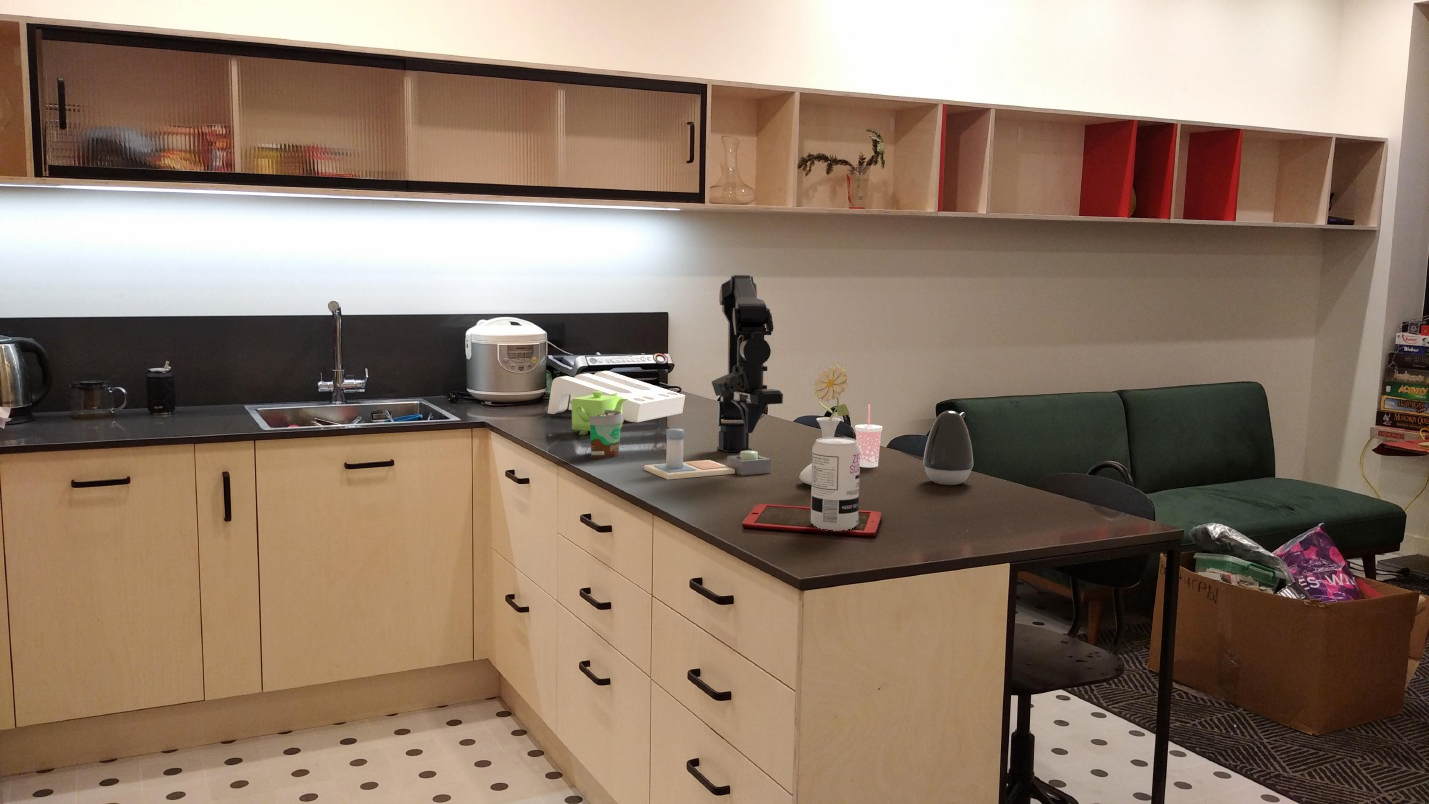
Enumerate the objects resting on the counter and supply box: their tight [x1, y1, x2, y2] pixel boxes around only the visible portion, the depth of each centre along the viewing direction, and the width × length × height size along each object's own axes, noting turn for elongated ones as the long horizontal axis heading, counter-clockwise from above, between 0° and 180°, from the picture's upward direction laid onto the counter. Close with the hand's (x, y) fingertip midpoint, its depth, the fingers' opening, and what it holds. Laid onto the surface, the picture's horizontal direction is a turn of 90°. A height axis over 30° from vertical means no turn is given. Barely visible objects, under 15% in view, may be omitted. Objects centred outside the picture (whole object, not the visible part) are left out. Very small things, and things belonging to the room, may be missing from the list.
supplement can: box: [810, 436, 861, 532], centre depth 187 cm, size 8×8×15 cm
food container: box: [589, 410, 625, 459], centre depth 254 cm, size 12×6×10 cm, turn 168°
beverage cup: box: [854, 403, 883, 468], centre depth 244 cm, size 6×6×14 cm
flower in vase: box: [798, 365, 851, 486], centre depth 220 cm, size 13×11×25 cm
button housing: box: [726, 454, 772, 476], centre depth 236 cm, size 7×7×3 cm
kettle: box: [568, 391, 628, 436], centre depth 287 cm, size 15×14×11 cm
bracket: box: [547, 370, 686, 423], centre depth 326 cm, size 24×12×32 cm
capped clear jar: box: [665, 427, 685, 469], centre depth 233 cm, size 4×4×8 cm
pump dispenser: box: [922, 410, 974, 486], centre depth 226 cm, size 10×10×15 cm
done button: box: [739, 450, 759, 460], centre depth 236 cm, size 4×4×4 cm
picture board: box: [643, 459, 736, 480], centre depth 235 cm, size 16×12×1 cm
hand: (749, 432), depth 235 cm, fingers closed
